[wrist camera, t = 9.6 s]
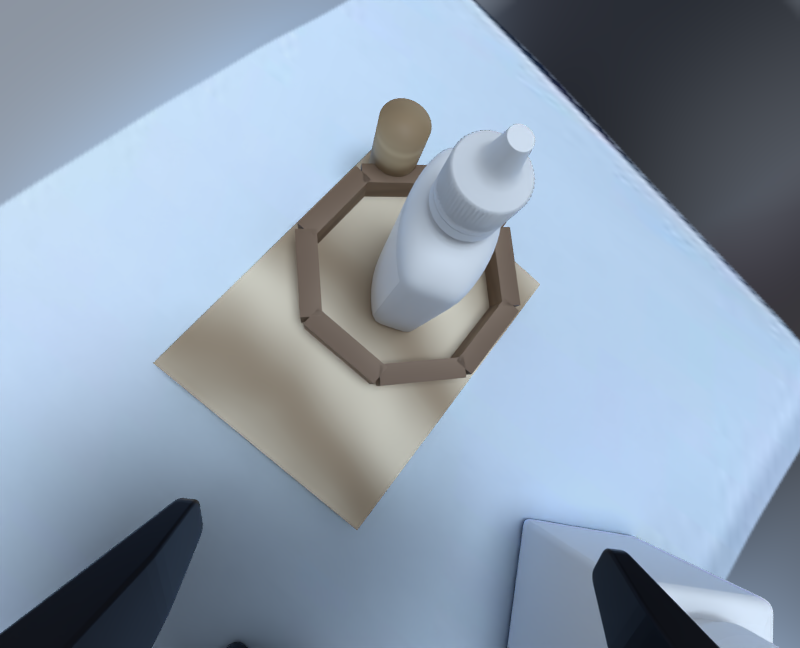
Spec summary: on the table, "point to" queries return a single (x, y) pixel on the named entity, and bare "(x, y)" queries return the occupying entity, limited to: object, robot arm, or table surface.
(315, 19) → the table surface
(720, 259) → the table surface
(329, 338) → the board
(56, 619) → the robot arm
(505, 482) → the table surface
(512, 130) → the eye dropper bottle
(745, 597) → the medicine bottle
